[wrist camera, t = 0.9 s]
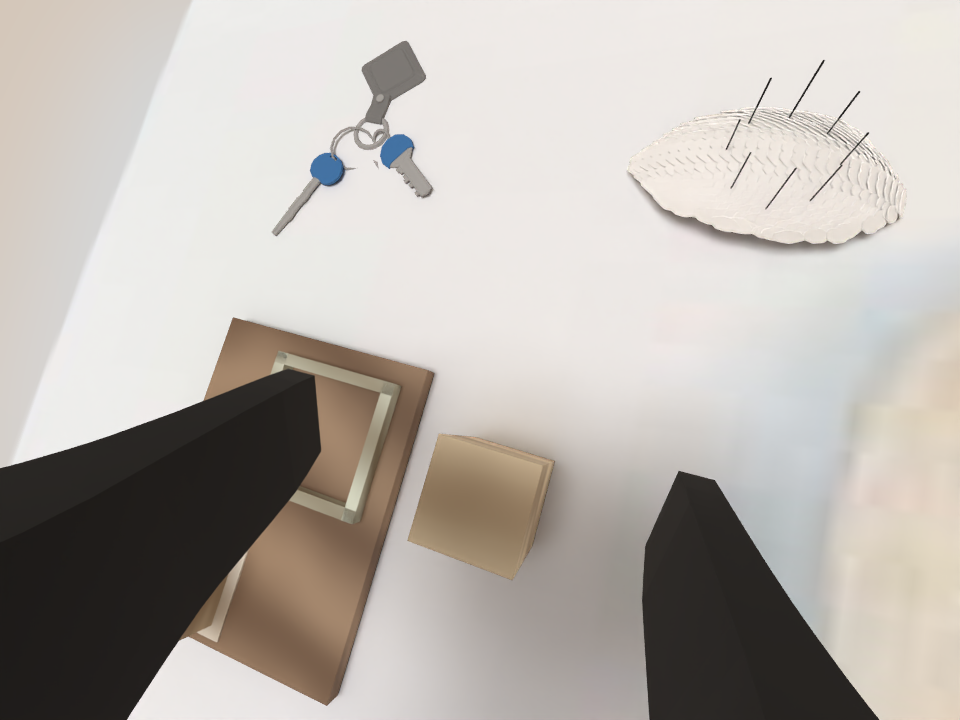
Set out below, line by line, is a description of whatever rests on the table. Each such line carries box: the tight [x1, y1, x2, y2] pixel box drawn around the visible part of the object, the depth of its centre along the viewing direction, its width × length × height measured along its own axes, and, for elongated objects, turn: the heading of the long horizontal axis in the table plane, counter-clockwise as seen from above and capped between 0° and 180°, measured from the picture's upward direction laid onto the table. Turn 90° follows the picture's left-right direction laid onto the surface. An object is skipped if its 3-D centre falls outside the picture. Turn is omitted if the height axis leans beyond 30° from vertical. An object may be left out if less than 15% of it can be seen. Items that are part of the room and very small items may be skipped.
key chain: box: [272, 41, 432, 236], centre depth 28 cm, size 14×8×1 cm, turn 152°
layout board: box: [180, 318, 434, 706], centre depth 22 cm, size 16×12×7 cm
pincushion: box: [627, 60, 907, 244], centre depth 20 cm, size 12×6×6 cm, turn 72°
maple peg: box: [407, 434, 555, 580], centre depth 20 cm, size 4×4×6 cm
